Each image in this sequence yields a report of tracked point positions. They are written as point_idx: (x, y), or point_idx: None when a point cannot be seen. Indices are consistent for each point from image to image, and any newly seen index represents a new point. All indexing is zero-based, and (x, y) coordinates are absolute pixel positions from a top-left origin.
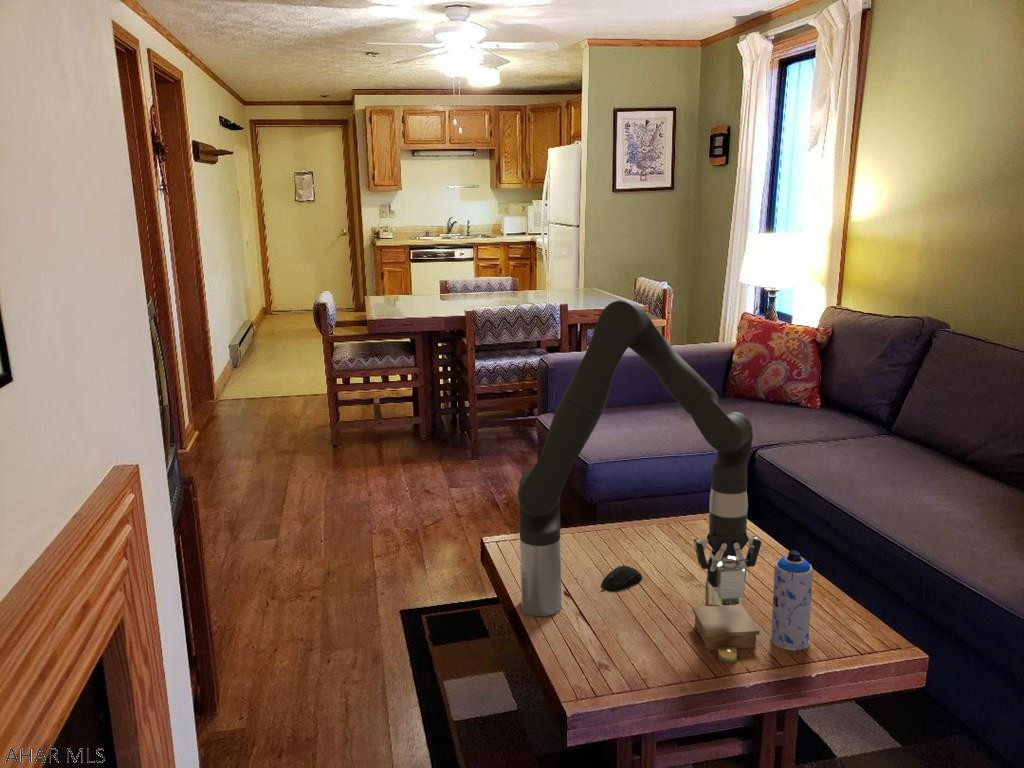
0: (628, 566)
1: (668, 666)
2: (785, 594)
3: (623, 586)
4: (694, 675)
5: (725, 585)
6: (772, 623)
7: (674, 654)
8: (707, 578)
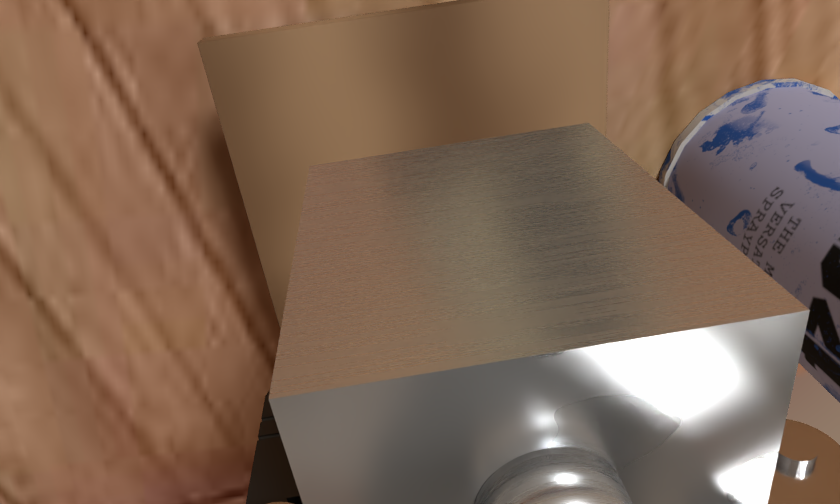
0: None
1: (119, 428)
2: None
3: None
4: (238, 467)
5: None
6: (713, 220)
7: (137, 344)
8: (264, 411)
